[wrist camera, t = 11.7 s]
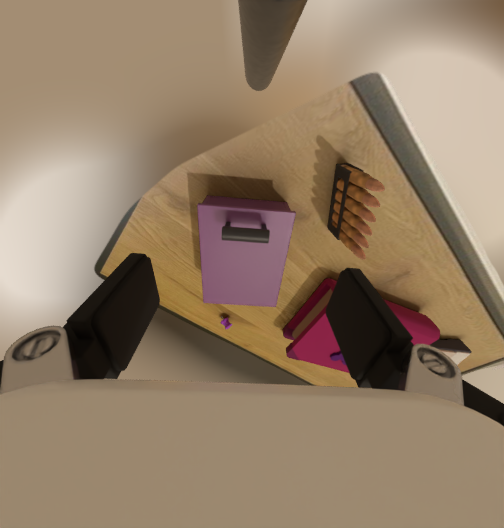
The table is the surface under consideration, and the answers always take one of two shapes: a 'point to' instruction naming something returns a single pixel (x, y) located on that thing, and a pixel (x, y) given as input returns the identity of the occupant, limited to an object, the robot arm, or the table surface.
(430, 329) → the book
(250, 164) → the table surface
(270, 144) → the table surface
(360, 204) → the ammunition clip
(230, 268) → the lid
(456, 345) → the calculator
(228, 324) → the pushpin
